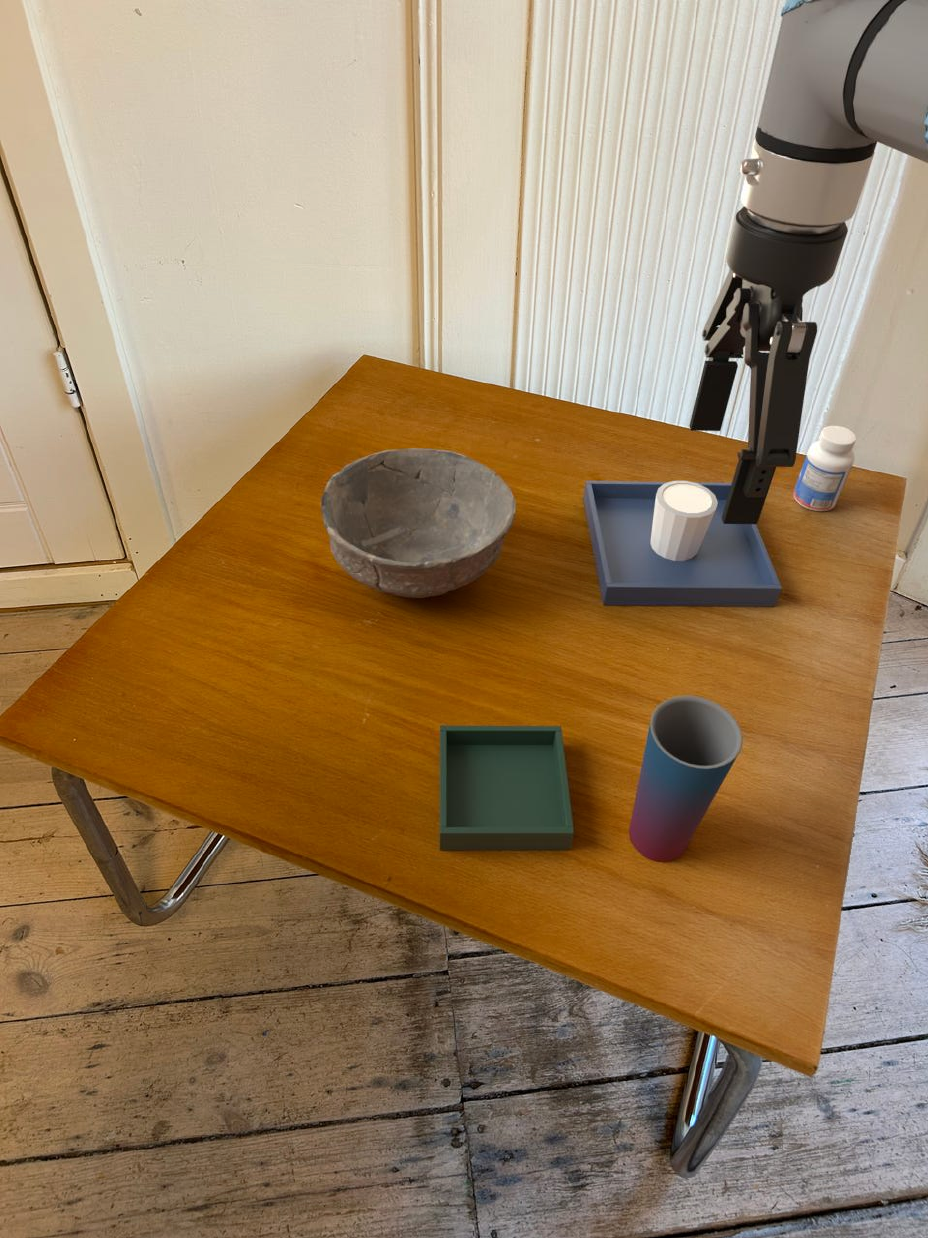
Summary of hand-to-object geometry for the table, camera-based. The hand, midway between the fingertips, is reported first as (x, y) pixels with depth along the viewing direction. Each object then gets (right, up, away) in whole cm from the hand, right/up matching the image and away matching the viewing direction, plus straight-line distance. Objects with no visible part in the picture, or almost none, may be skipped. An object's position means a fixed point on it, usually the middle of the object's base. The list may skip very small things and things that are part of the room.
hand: (720, 472), depth 74 cm
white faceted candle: (+3, -4, +28) cm, 28 cm away
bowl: (-27, -7, +24) cm, 37 cm away
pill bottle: (+23, +2, +36) cm, 43 cm away
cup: (-5, -32, +1) cm, 32 cm away
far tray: (+3, -4, +28) cm, 29 cm away
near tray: (-19, -28, +3) cm, 34 cm away
